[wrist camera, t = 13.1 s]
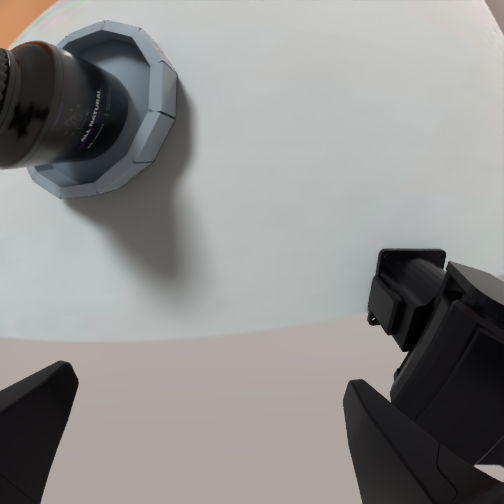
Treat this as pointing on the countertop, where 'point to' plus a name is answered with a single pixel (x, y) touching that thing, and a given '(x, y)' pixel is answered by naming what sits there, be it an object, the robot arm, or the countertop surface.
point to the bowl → (139, 109)
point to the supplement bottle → (56, 107)
